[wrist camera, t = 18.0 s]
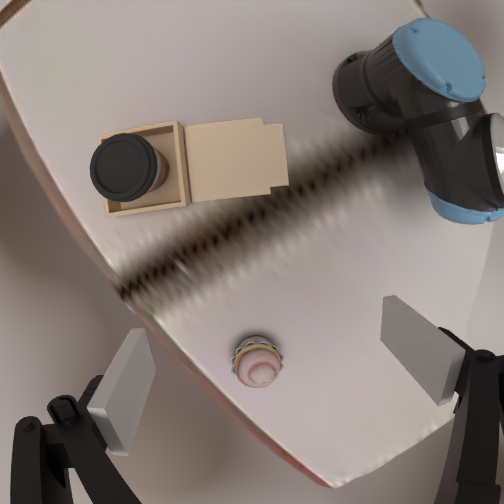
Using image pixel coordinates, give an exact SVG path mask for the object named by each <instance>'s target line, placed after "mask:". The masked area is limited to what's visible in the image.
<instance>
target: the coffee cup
mask: <svg viewBox="0 0 504 504" xmlns="http://www.w3.org/2000/svg"><path fill="white" fill-rule="evenodd" d="M168 174H169V164H168V161H167V159H166V158H165V156H164V155H163V154H162V153H161V152H160V151H158V150H157V149H156V148H155V147H153V146H152V145H151V144H150V143H149V142H148V141H147V140H146V139H144V138H143V137H141V136H139V135H136V134H131V133H120V134H115V135H113V136H111V137H109V138H107V139H106V140H105V141H103V142H102V143H101V144H100V145H99V146H98V148H97V149H96V150H95V152H94V154H93V156H92V159H91V163H90V177H91V179H92V182H93V185H94V186H95V188H96V189H97V190H98V192H99V193H100V194H101V195H102V196H104V197H105V198H107V199H109V200H111V201H116V202H130V201H134V200H136V199H138V198H140V197H141V196H143V195H145V194H147V193H149V192H152V191H154V190H156V189H157V188H159V187H160V186H162V185H163V184H164V183H165V181H166V180H167V177H168Z"/></svg>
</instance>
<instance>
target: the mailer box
mask: <svg viewBox="0 0 504 504" xmlns="http://www.w3.org/2000/svg"><path fill="white" fill-rule="evenodd" d="M184 127H185V137H186V148H187V158H188V167H189V176H190V185H191V194H192V202H193V203H194V202H202V201H210V200H218V199H227V198H236V197H245V196H254V195H264V194H271V192H270V187H274V186H285V185H289V181H288V170H287V160H286V151H285V141H284V132H283V123H275V124H263V118H251V119H240V120H230V121H221V122H212V123H204V124H197V125H190V126H184ZM120 133H131V134H136V135H139V136H141V137H143V138H144V139H146V140H147V141H148V142H149V143H150V144H151V145H152V146H153V147H155V148H156V149H157V150H158V151H160V152H161V153H162V154H163V155H164V156H165V158H166V159H167V161H168V164H169V174H168V177H167V180H166V181H165V183H164V184H163V185H162V186H160V187H159V188H157V189H156V190H154V191H152V192H149V193H147V194H145V195H143V196H141V197H140V198H138V199H136V200H134V201H130V202H116V201H111V200H109V199H107V198H105V197H104V196H103V199H104V206H105V213H106V218H109V217H115V216H121V215H127V214H133V213H140V212H146V211H153V210H160V209H167V208H174V207H181V206H187V205H188V204H190V203H191V197H190V189H189V180H188V171H187V162H186V152H185V142H184V131H183V126H182V125H181V124H180V123H179V122H178V121H177V120H175V121H169V122H163V123H158V124H152V125H147V126H142V127H137V128H132V129H127V130H123V131H118V132H114V133H110V134H106V135H101V136H97V139H98V146H99V145H100V144H101V143H102V142H103V141H105V140H106V139H107V138H109V137H111V136H113V135H115V134H120Z"/></svg>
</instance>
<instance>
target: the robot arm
mask: <svg viewBox="0 0 504 504" xmlns="http://www.w3.org/2000/svg"><path fill="white" fill-rule="evenodd" d="M484 78H485V71H484V67H483V65H482V62H481V60H480V58H479V56H478V54H477V52H476V51H475V49H474V48H473V46H472V45H471V44H470V43H469V41H468V40H467V39H466V38H465V37H464V36H463V35H462V34H461V33H459V32H458V31H457V30H454V29H453V28H452V27H451V26H449V25H448V24H446V23H444V22H442V21H439V20H436V19H432V18H419V19H416V20H413V21H411V22H410V23H408V24H407V25H403V26H401V27H399V28H398V29H397V30H396V31H395V32H394V33H393V34H392V35H391V36H389V37H388V38H387V39H386V40H385V41H383V42H382V43H381V44H380V45H378V46H377V47H376V48H375V49H374V50H369V51H362V52H357V53H355V54H352V55H350V56H349V57H347V58H346V59H345V60H344V61H343V62H342V63H341V64H340V65H339V66H338V68H337V70H336V72H335V74H334V78H333V92H334V96H335V99H336V102H337V104H338V106H339V108H340V110H341V111H342V113H343V114H344V115H345V117H346V118H347V119H348V120H349V121H350V122H351V123H353V124H354V125H355V126H357V127H358V128H360V129H362V130H364V131H366V132H369V133H374V134H385V133H390V132H393V131H396V130H398V129H400V128H402V127H403V126H404V125H405V124H406V127H407V129H408V133H409V135H410V138H411V141H412V144H413V146H414V149H415V152H416V155H417V158H418V161H419V164H420V167H421V170H422V174H423V177H424V185H425V188H426V190H427V191H428V193H429V196H430V199H431V203H432V206H433V208H434V209H435V211H437V213H438V214H439V215H440V216H441V217H443V218H445V219H447V220H449V221H452V222H455V223H460V224H472V225H473V224H483V223H484V221H488V222H492V221H495V220H497V219H499V218H501V217H502V216H503V215H504V117H503V116H501V115H500V114H499V113H491V114H486V115H485V113H484V111H483V108H482V105H481V103H480V100H479V97H480V96H481V94H482V93H483V91H484V88H485V81H484V80H483V79H484ZM380 340H381V341H382V342H383V343H384V344H385V346H386V347H387V348H388V349H389V350H390V351H391V352H392V353H393V355H394V356H395V357H396V358H397V359H398V360H399V361H400V363H401V364H402V365H403V366H404V367H405V368H406V369H407V371H408V372H409V373H410V374H411V375H412V376H413V377H414V379H415V380H416V381H417V382H418V383H419V384H420V386H421V387H422V388H423V389H424V390H425V391H426V393H427V394H428V395H429V396H430V397H431V398H432V400H433V401H434V402H435V403H436V404H437V405H438V407H439V406H441V405H443V404H446V403H448V402H450V401H451V400H452V397H453V394H454V391H456V392H457V393H458V394H459V397H458V400H457V403H456V406H455V409H454V411H453V413H454V414H455V419H454V425H453V430H452V435H451V440H450V445H449V450H448V454H447V459H446V463H445V467H444V471H443V475H442V478H441V482H440V485H439V489H438V492H437V495H436V498H435V502H434V504H499V500H500V493H501V487H500V485H496V484H495V479H496V470H497V460H498V447H499V420H500V423H501V427H502V430H503V434H504V355H501V356H495V355H494V354H493V353H492V352H490V351H488V350H483V349H482V350H476V351H475V350H474V349H472V348H471V347H470V346H468V345H467V344H466V343H465V342H463V341H462V340H460V339H459V338H458V337H457V336H455V335H454V334H453V333H452V332H450V331H449V330H447V329H444V328H442V327H438V328H437V327H436V326H435V325H433V324H432V323H431V322H429V321H428V320H427V319H426V318H424V317H423V316H422V315H420V314H419V313H418V312H416V311H415V310H414V309H413V308H411V307H410V306H409V305H407V304H406V303H405V302H403V301H402V300H401V299H399V298H398V297H397V296H395V295H392V296H387V297H383V311H382V325H381V337H380ZM155 372H156V369H155V366H154V362H153V359H152V355H151V352H150V348H149V345H148V341H147V337H146V334H145V330H144V328H140V329H131V330H130V332H129V333H128V335H127V337H126V339H125V340H124V342H123V344H122V345H121V347H120V349H119V350H118V352H117V354H116V356H115V357H114V359H113V361H112V362H111V364H110V366H109V368H108V370H107V371H106V373H105V375H97V376H96V377H95V378H93V379H92V380H91V381H90V383H89V384H88V386H87V388H86V390H85V391H84V393H83V395H82V396H81V398H80V400H79V401H78V403H77V401H76V399H75V398H74V397H73V396H70V395H62V396H58V397H56V398H54V399H53V400H51V401H50V402H49V404H48V406H47V411H48V412H49V414H50V416H51V418H52V420H53V421H54V423H55V424H46V425H42V423H41V422H40V420H39V419H38V418H37V417H34V416H28V417H24V418H22V419H21V420H19V422H18V423H17V424H16V427H15V432H14V440H13V451H12V463H11V485H10V486H11V487H10V504H73V498H72V492H71V486H70V480H69V473H68V468H75V470H76V472H77V474H78V476H79V478H80V480H81V482H82V484H83V486H84V488H85V490H86V492H87V493H88V495H89V497H90V499H91V501H92V502H93V504H142V503H141V502H140V501H139V499H138V498H137V497H136V496H135V494H134V493H133V492H132V490H131V489H130V488H129V486H128V485H127V484H126V482H125V481H124V479H123V478H122V477H121V475H120V474H119V472H118V471H117V469H116V468H115V466H114V465H113V463H112V462H111V460H110V459H109V457H108V456H107V454H106V453H105V451H106V448H107V446H108V448H109V450H110V451H111V453H112V454H113V455H122V456H129V454H130V450H131V447H132V444H133V440H134V437H135V434H136V431H137V427H138V424H139V421H140V418H141V414H142V411H143V408H144V405H145V402H146V399H147V396H148V393H149V390H150V386H151V384H152V380H153V377H154V374H155Z"/></svg>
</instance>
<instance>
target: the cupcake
mask: <svg viewBox="0 0 504 504" xmlns="http://www.w3.org/2000/svg"><path fill="white" fill-rule="evenodd" d="M283 359H284V356H283V355H282V354H281V353H279V351H278V348H277V347H276V346H274V345H272V344H271V342H270V341H269V340H267V339H266V338H264V337H260V336H252V337H249V338H246V339H245V340H243V341H242V342H241V343H240V345H239V347H238V348H237V349H236V354H235V355H234V356H233V357H232V358H231V363H232V365H233V367H232V369H231V372H232V373H233V374H236V375H237V378H238V381H240V382H241V383H243V384H244V385H246V386H249V387H253V388H263V387H266V386H268V385H269V384H271V383H272V382H273V381H274V380H275V379H277V378H278V374H279V372H280V371H281V370H283V369H284V365H283V364H282V361H283Z"/></svg>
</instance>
